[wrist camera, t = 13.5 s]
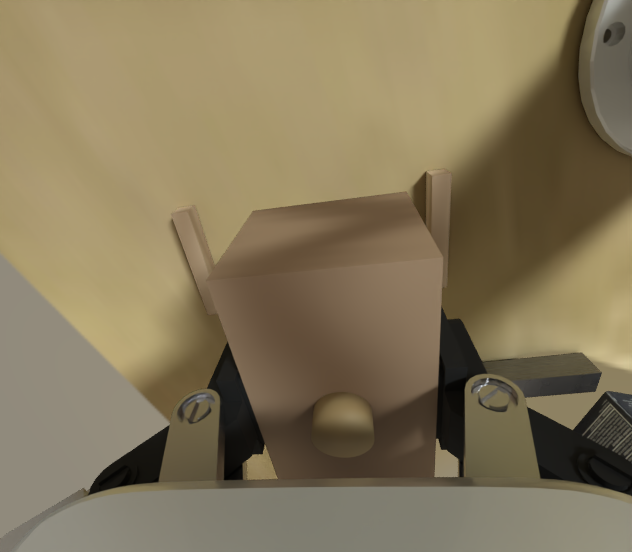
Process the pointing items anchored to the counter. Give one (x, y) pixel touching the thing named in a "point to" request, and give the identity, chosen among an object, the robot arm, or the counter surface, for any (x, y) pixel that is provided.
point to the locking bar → (548, 374)
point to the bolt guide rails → (204, 265)
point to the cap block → (337, 335)
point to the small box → (610, 423)
